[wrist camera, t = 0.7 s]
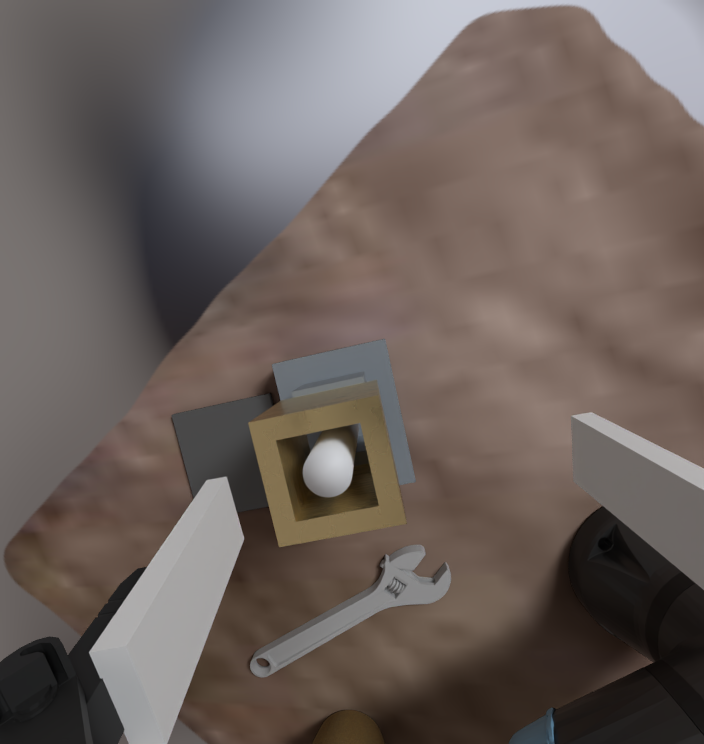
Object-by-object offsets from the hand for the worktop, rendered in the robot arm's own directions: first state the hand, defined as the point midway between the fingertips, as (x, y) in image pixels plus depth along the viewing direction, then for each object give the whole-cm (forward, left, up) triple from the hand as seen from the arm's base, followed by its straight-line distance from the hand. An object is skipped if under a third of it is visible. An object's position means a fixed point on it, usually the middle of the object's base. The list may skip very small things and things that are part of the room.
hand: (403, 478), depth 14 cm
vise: (-2, +4, -25) cm, 25 cm away
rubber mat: (-4, +17, -25) cm, 30 cm away
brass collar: (-2, +4, -16) cm, 16 cm away
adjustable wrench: (-23, +10, -25) cm, 36 cm away
